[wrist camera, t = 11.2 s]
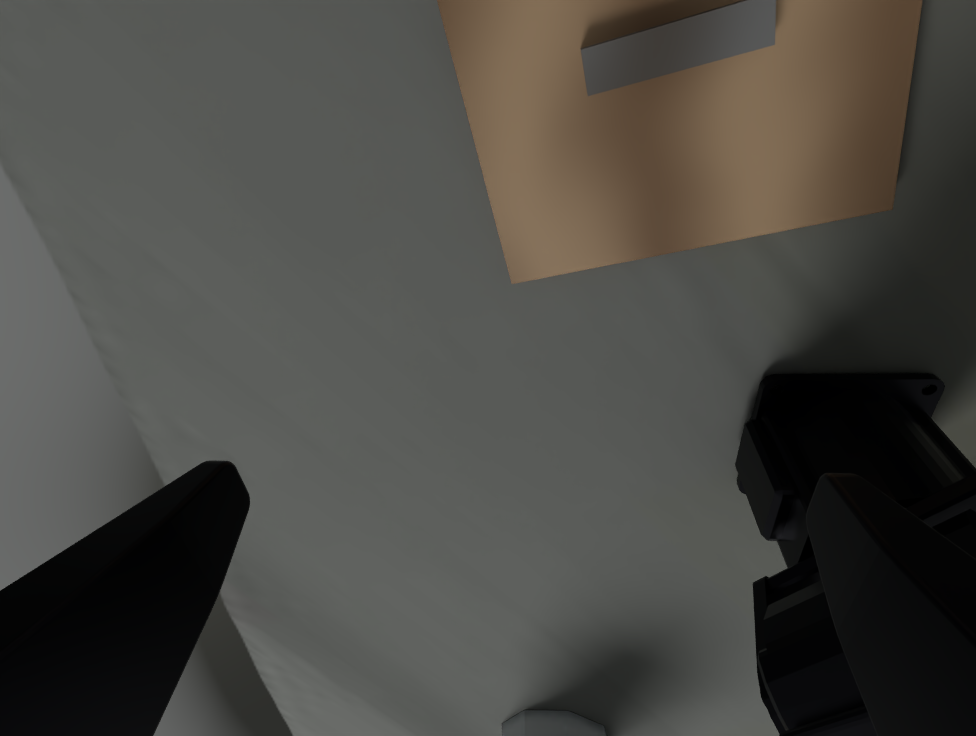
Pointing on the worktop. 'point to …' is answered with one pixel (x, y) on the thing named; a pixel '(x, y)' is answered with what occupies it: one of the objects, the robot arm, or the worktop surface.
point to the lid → (678, 119)
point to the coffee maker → (551, 724)
